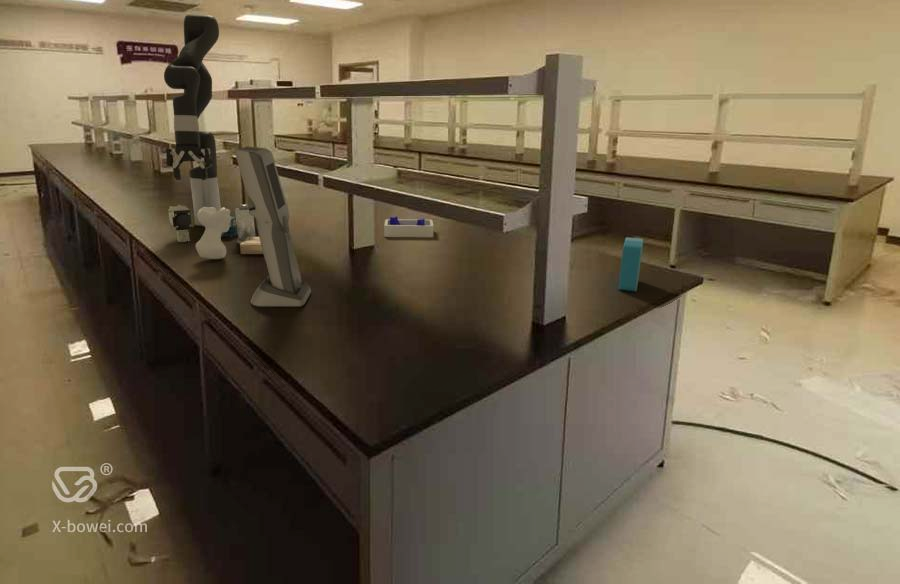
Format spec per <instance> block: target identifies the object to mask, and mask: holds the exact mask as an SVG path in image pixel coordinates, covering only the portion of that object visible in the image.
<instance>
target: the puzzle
mask: <svg viewBox="0 0 900 584" xmlns="http://www.w3.org/2000/svg"><path fill="white" fill-rule="evenodd" d="M230 217H231V221H230V223H229V225H230V227H229V230H228V231H227V232H223V233H222V234H221V237H223V236H234V237H236V236H238V235H237V223H236V215H235V216H234V215H233V216H232V215H230ZM235 235H236V236H235Z"/></svg>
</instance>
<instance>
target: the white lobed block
mask: <svg viewBox="0 0 900 584" xmlns="http://www.w3.org/2000/svg"><path fill="white" fill-rule="evenodd" d="M230 216H231V210H230V209H228V208H226V207H221V208H220V209H219V211H218V212H216V209H215V208H213V207H210V208H208V207H203V208H201V209H200V210H199V211H198V213H197V218H198V220H199V222H200V223H201V224H202V225H204V226H203V227H204V228H205V230H204V232H203V234H202V236H201V238H200V239H199V240H198V241H197V242H196V243H195V249H196V251H197V253H198V255H199V256H200V257H201V258H203V259H210V260H220V259H224V257H226V255H227V247H226V245H225V244H224V243H223V241H222V239H221V238H222V236H221V234H222V233H223V232H227V231H228V230H229V227H230V225H229V223H230V221H231V217H230Z"/></svg>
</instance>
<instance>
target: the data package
mask: <svg viewBox="0 0 900 584" xmlns="http://www.w3.org/2000/svg"><path fill="white" fill-rule="evenodd" d="M643 246H644V238H639V237H637V238H636V237H625V239H624V243H623V247H622V253H621V263H620V271H619V278H618V279H619V280H618V290H620V291H626V292H627V291H628V292H637V290H638V285H639V284H638V283H639V279H640V278H639V276H640V270H641V263H642V262H641V261H642V255H643Z"/></svg>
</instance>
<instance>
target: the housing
mask: <svg viewBox="0 0 900 584" xmlns="http://www.w3.org/2000/svg"><path fill="white" fill-rule="evenodd" d="M247 206H248V203H247V204H238V207H237V208H235V210H234V211H235V212H234V213H235V216H236V223H237V234H238V235H237V239H236V244H237V245H240V244H241V243H242V242H243V241H244V240H245V239H247V238H248V237H256V230H255V229H256V228H255V217H254V216H251V215H250V214H249V209H248V207H247Z"/></svg>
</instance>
